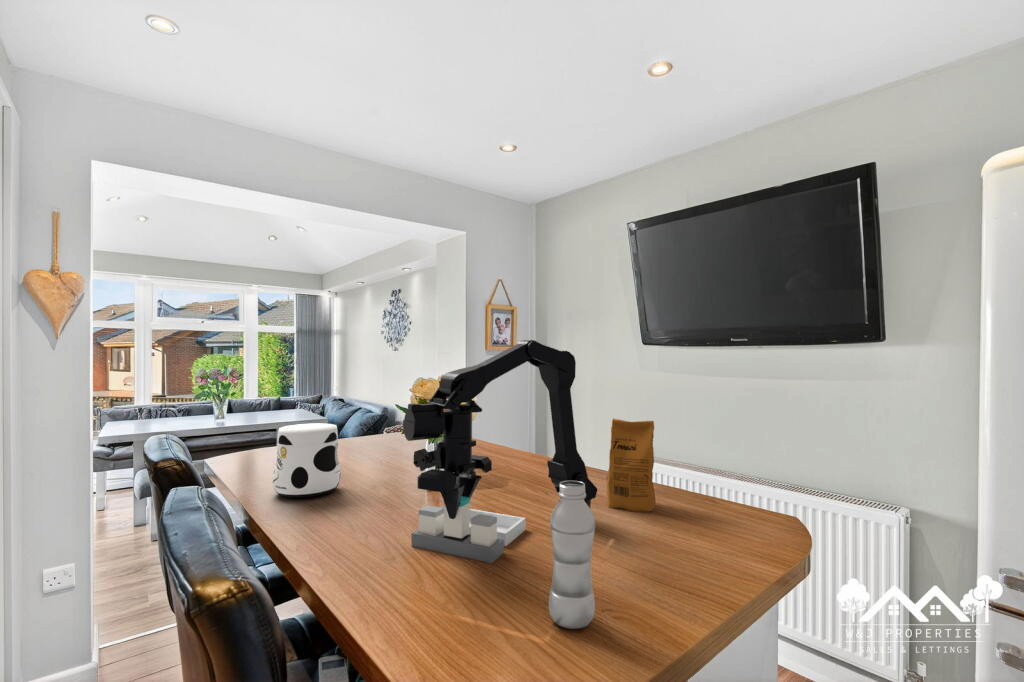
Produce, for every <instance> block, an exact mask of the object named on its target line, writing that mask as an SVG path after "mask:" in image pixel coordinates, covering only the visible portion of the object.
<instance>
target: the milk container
mask: <svg viewBox="0 0 1024 682" xmlns="http://www.w3.org/2000/svg"><path fill="white" fill-rule="evenodd" d="M338 434H339V432H338V426H337V424H333V423H320V422H319V423H301V424H292V425H285V426H282V427H279V428H278V431H277V436H276V437H277V438H276V439H277V440H276V442H277V443H276V463H275V467H274V471H273V473H272V474H273V475H272V484H273V490H274V491H275V493H277V494H278V495H280V496H283V497H288V498H309V497H316V496H319V495H324V494H328V493H329V492H332V491H334V490H335V489H336V488H338V486H339V485H340V482H341V476H342V475H341V474H342V470H341V464H340V462H339V455H338V452H339V451H338V447H339V440H338V438H339V435H338Z"/></svg>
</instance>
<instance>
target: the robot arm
mask: <svg viewBox="0 0 1024 682" xmlns="http://www.w3.org/2000/svg"><path fill="white" fill-rule="evenodd" d="M527 362H528V363H529V364H530V365H531V366H534V367H537V368H538V370H539V375H540V378H541V380H542V382H543V384H544V386H545V388H546V389H547V390H548V395H549V396H548V397H549V403H550V404H549V405H550V414H551V422H552V423H551V424H552V432H553V433H552V434H553V440H554V441H553V443H554V455H553V457H552V459H550V460H549V459H548V460H547V463H546V464H547V468H548V474H547V475H548V478H550V480H551V483H552V485H554V488H555V491H556V493H558V494H559V492H560V486H559V485H560V482H562V481H580V482H583V483H584V484H585V493H586V498H584V501H585V502H586V504H587V505H588V506H589V508H590V509H591V507H592V506H591V500H592V499H596V497H597V493H598V488H597V487H596V484H594V483H593V482H592V481H591V479H590V478H589V475H588V472H587V468H586V464H585V462H584V460H583V458H582V457H581V455H580V453H579V451H578V448H577V446H578V445H577V439H576V429H575V420H574V412H573V411H574V410H573V402H572V401H573V400H572V393H571V392H572V391H571V388H572V386H573V383H574V381H575V379H576V368H577V367H576V363H577V362H576V358H575V356H574V354H572V353H571V352H570V351H568V350H559V349H556V348H553V347H551V346H548V345H545V344H543V343H540V342H539V341H537V340H533V339H529V340H528V339H525V340H520V341H518V342H517V343H516V344H515V345H513V346H511V347H509V348H507V349H504V350H503V351H501V352H500V353H497V354H495V355H493V356H491V357H489V358H488V359H485V360H484V361H481V362H480V363H478V364H475V365H473V366H472V365H471V366H468V367H462V368H459V369H455V370H452V371H449V372H446V373H444V374H443V375H442V376H441V377H440V381H439V386H438V387H437V389H436V390H435V392H434V393H433V395H432V396H431V398H430V400H429V401H428V402H427V403H421V404H419V403H415V402H414V403H413V402H412V403H408V404H407V409H406V411H405V413H404V418H403V420H402V429H403V434H404V437H405V440H407V441H408V442H413V441H423V440H432V439H439V437H441V435H442V440H440V441H438V443H437V444H436V449H434V450H431V451H428V450H427V449H426V448H421V449H418V450H415V451H414V452H413V462H412V463H413V465H414V466H415V467H416V468H419V471H420V472H421V473H420V474H419V476H417V487H416V488H417V489H418V490H424V491H425V490H426V491H432V492H437V493H440V494H441V495H440V496H441V498H442V499H443V504H444V503H445V506H446V509H447V512H448V515H449V518H450V519H455V517H456V514H457V511H458V508H459V504H460V500H461V496H464V497H470V500H471V499H472V496H473V494H474V492H475V491H476V489H477V487H478V484H479V482H480V480H482V475H478V474H477V472H476V471H475V470H476V469H478V470H481V471H482V472H483V473H484V474H487V473H489V472H491V471H492V469H493V467H492V464H493V463H492V460H491V458H490V457H489V456H486V455H485V456H484V455H475V454H473V447H475V446H477V440H476V439H473V414H474V413H482V412H483V408H482V407H481V406H479V405H478V404H477V402H476V400H474V399H475V398H476V397H477V396H479V395H480V394H481V393H482V392H483V391H484V390H485V388H486V386H488V385H489V383H491V382H492V381H494V380H496V379H498V378H500V377H502V376H503V375H505V374H508V373H509V372H510V371H513V370H515V369H516V368H518V367H520V366H522V365H524V364H525V363H527ZM433 467H434V468H433ZM430 468H431V469H430ZM427 469H428V470H427ZM425 470H426V471H425ZM422 471H423V472H422ZM559 502H560V500H558V503H559Z"/></svg>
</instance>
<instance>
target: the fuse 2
mask: <svg viewBox="0 0 1024 682" xmlns="http://www.w3.org/2000/svg"><path fill="white" fill-rule="evenodd" d="M496 542H497V517H495V516H489V515H483V514H478V515H476V516H474V517H473V518H471V543H472V544H477V545H482V546H487V547H491V546H492V545H494V544H495V543H496Z"/></svg>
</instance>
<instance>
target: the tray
mask: <svg viewBox="0 0 1024 682" xmlns="http://www.w3.org/2000/svg"><path fill="white" fill-rule="evenodd" d="M478 514H483V515H489V516H495V517H497V538H498V539H503V540H504V547H507V546H509V545H510V543H512V542H513V541H514V540H515V539H516V538H518V537H519V536H520V535H521V534H523V533H524V532H525V531H526V527H527V525H526V523H527V517H523V516H516V515H511V514H503V513H497V512H492V511H491V512H490V511H487V510H486V511H485V510H479V509H474V508H470V518H469V533H471V518H473V517H474V516H476V515H478Z"/></svg>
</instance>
